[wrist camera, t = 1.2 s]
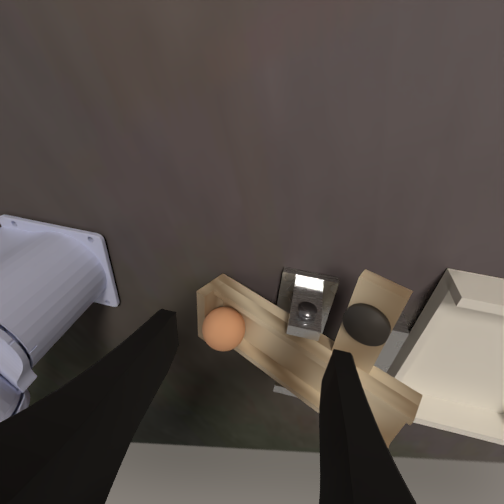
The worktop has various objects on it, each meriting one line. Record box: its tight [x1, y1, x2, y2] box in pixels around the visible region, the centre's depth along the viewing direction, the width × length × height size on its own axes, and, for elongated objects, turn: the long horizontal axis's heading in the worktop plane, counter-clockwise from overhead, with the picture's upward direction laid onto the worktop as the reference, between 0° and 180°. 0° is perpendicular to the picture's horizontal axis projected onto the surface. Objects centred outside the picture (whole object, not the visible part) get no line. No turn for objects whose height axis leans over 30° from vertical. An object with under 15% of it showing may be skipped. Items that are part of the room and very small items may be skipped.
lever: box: [197, 269, 423, 448], centre depth 19 cm, size 15×11×3 cm
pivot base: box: [273, 267, 409, 397], centre depth 22 cm, size 9×8×5 cm
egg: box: [202, 307, 245, 351], centre depth 23 cm, size 3×3×3 cm
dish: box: [387, 268, 504, 445], centre depth 22 cm, size 10×13×3 cm
